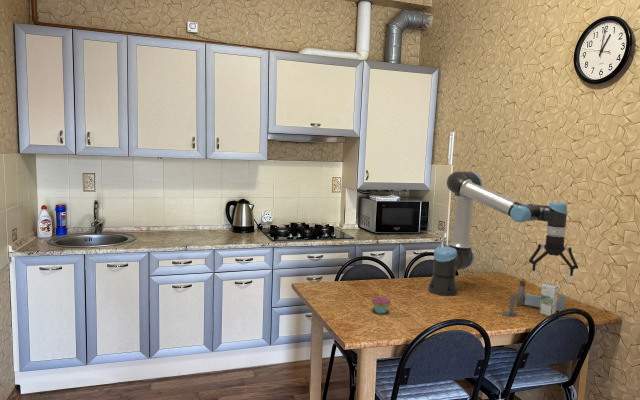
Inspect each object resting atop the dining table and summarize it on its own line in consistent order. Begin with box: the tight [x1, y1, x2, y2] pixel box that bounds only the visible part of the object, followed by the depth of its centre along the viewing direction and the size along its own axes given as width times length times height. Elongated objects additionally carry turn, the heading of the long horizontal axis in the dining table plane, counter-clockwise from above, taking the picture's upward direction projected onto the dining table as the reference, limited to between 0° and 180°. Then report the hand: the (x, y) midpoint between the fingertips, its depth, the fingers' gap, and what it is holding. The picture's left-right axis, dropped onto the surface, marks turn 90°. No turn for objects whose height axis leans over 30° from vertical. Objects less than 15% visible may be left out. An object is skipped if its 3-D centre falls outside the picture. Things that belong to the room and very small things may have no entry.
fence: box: [519, 279, 526, 288], centre depth 222 cm, size 3×13×9 cm, turn 153°
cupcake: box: [371, 287, 391, 314], centre depth 195 cm, size 9×8×12 cm
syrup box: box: [538, 282, 559, 317], centre depth 202 cm, size 6×6×14 cm
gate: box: [516, 285, 566, 312], centre depth 210 cm, size 20×3×9 cm, turn 63°
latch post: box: [501, 292, 516, 318], centre depth 199 cm, size 5×5×10 cm
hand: (551, 280), depth 201 cm, fingers open, 13 cm apart
